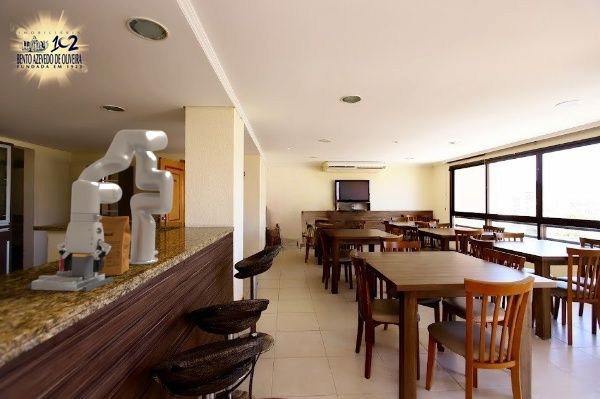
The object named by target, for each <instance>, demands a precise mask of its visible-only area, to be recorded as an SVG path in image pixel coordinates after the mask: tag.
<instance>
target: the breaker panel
mask: <svg viewBox="0 0 600 399" xmlns="http://www.w3.org/2000/svg"><path fill="white" fill-rule="evenodd" d="M105 277H106V276H105V273H97V272H93V276H91V277H88V278H85V279H82V277H74V276H72V271H59V270H58V271H56V274H53V275H39V276H38V279H36V280H35V279H34V280H32V281H31V283H32V287H31V288H30V289H31V290H40V291H64V292H65V291H66V292H67V291H68V292H69V291H70V292H77V291H80V290H83V287H85V286H87V285H90V284H93V283H96V282H98V281H101V280H104V279H106V278H105Z"/></svg>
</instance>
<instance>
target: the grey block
mask: <svg viewBox="0 0 600 399" xmlns="http://www.w3.org/2000/svg"><path fill="white" fill-rule="evenodd" d="M93 261H94V256H93V255H92V254H77V253H75V254H73V258H72V276H74V277H82V279H85V278H88V277H91V276H93Z"/></svg>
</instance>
